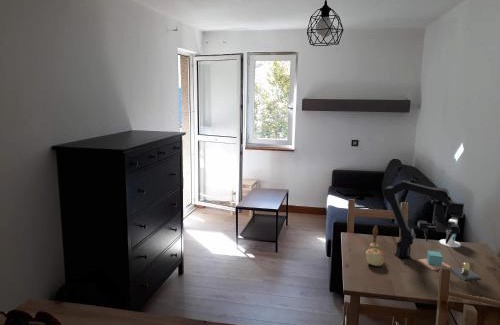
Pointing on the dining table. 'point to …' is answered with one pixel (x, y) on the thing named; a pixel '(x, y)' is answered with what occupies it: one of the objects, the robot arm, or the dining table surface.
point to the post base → (464, 276)
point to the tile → (432, 267)
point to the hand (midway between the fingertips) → (436, 242)
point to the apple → (375, 257)
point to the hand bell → (374, 240)
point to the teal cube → (434, 258)
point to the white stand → (452, 240)
